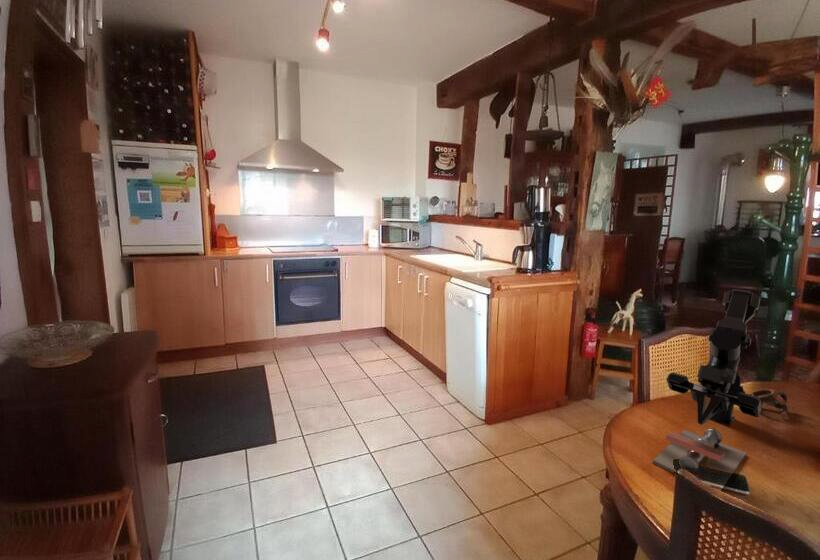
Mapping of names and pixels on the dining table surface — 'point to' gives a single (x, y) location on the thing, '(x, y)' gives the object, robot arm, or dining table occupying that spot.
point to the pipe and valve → (695, 458)
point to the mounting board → (676, 452)
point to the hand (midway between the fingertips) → (699, 423)
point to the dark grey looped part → (773, 400)
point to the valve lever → (696, 446)
